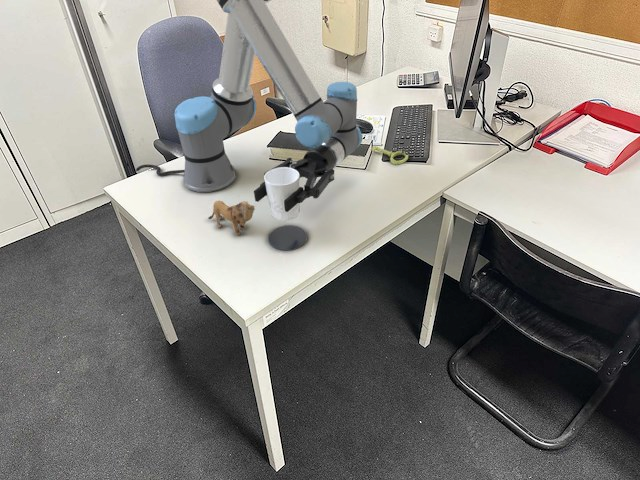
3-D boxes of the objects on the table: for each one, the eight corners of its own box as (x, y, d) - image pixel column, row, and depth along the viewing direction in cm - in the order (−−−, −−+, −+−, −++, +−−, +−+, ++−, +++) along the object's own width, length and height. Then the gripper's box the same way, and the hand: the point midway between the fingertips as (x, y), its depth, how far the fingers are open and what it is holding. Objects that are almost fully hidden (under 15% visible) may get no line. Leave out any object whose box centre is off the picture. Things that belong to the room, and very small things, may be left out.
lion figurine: (260, 228, 110) (256, 198, 104) (249, 239, 106) (244, 210, 101) (214, 214, 115) (207, 186, 109) (202, 225, 111) (194, 196, 106)
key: (372, 150, 141) (372, 144, 140) (409, 155, 138) (410, 149, 137) (366, 160, 136) (367, 154, 135) (405, 166, 133) (406, 160, 131)
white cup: (297, 223, 98) (294, 186, 91) (264, 220, 99) (259, 183, 93) (305, 204, 104) (303, 168, 97) (274, 201, 105) (269, 165, 99)
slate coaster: (260, 242, 105) (260, 241, 105) (283, 222, 112) (283, 221, 111) (292, 255, 101) (292, 254, 101) (314, 233, 107) (314, 232, 107)
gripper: (358, 180, 107) (310, 228, 93) (291, 161, 116) (237, 203, 101) (359, 153, 103) (308, 199, 88) (289, 136, 111) (232, 175, 96)
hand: (270, 201), depth 95 cm, fingers closed on white cup, 8 cm apart
